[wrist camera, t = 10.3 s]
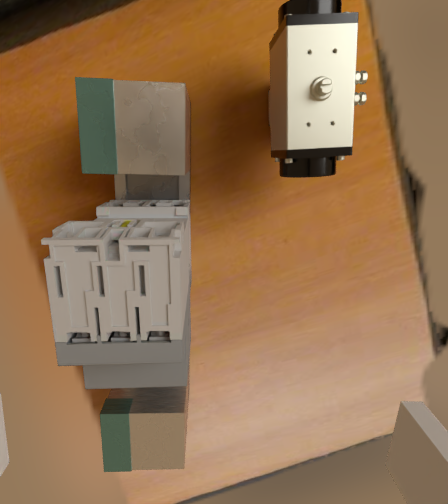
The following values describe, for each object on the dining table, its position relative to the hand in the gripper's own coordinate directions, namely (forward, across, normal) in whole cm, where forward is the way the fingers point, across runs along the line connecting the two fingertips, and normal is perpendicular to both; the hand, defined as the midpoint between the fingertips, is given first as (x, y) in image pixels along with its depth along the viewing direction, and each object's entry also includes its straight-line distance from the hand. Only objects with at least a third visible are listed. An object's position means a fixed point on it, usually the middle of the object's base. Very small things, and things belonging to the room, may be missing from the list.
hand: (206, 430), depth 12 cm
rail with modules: (+26, -5, -3) cm, 27 cm away
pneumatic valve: (+27, +8, +13) cm, 31 cm away
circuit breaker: (+25, -5, -3) cm, 25 cm away
